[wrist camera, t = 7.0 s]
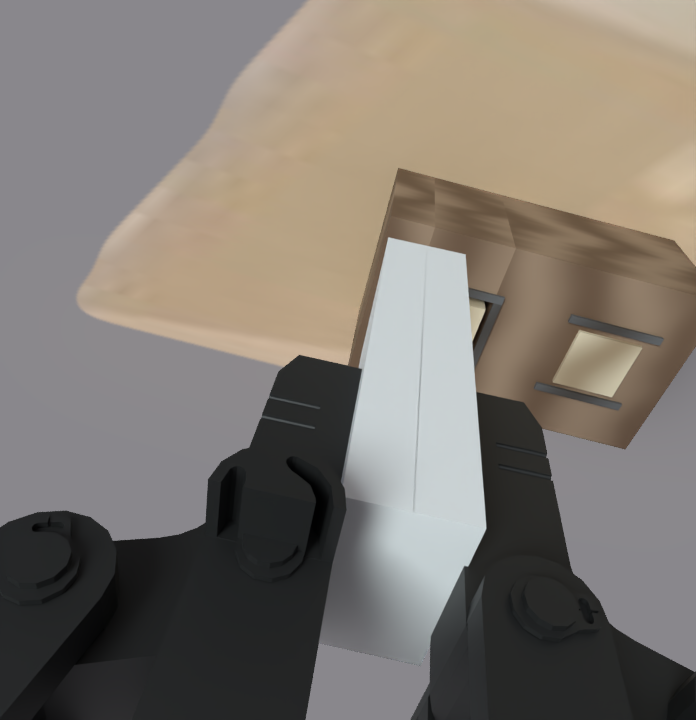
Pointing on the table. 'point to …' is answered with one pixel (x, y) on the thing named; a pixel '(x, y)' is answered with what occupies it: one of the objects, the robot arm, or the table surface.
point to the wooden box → (554, 304)
